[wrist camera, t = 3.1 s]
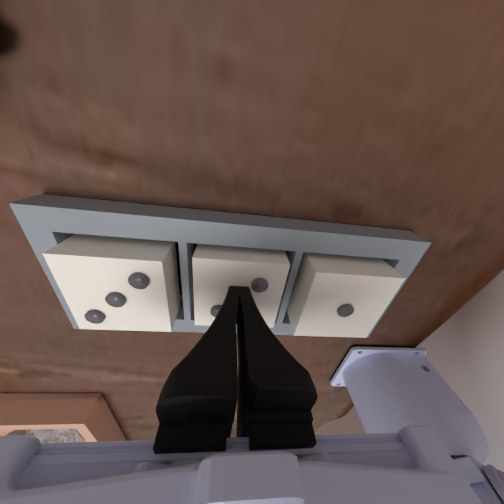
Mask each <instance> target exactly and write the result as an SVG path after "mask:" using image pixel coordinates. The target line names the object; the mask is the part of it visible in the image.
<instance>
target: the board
mask: <svg viewBox="0 0 504 504" xmlns="http://www.w3.org/2000/svg"><path fill="white" fill-rule="evenodd" d="M9 204H10V206H11V208H12V210H13V212H14V214H15V216H16V218H17V220H18V222H19V223H20V225H21V227H22V229H23V231H24V233H25V235H26V237H27V239H28V241H29V243H30V245H31V247H32V249H33V250H34V252H35V254H36V256H37V258H38V260H39V262H40V264H41V266H42V268H43V270H44V272H45V274H46V276H47V277H48V279H49V281H50V283H51V285H52V287H53V289H54V291H55V293H56V295H57V297H58V299H59V301H60V303H61V304H62V306H63V308H64V310H65V312H66V314H67V316H68V318H69V320H70V322H71V324H72V326H73V328H74V329H79V327H78V325H77V323H76V321H75V318H74V316H73V314H72V312H71V310H70V308H69V306H68V304H67V302H66V300H65V298H64V296H63V294H62V292H61V290H60V288H59V286H58V284H57V282H56V280H55V278H54V276H53V274H52V272H51V270H50V268H49V266H48V264H47V262H46V260H45V258H44V256H43V254H42V253H44V252H45V251H47V250H49V249H50V248H52V247H54V246H56V245H57V244H59V243H61V242H63V241H64V240H66V239H68V238H69V237H71V236H73V235H75V234H86V235H98V236H111V237H123V238H136V239H148V240H160V241H173V242H178V246H179V259H180V271H181V284H182V297H183V301H180V302H181V306H180V309H179V312H178V315H177V318H176V320H175V323H174V326H173V329H172V332H202V333H206V331H207V330H208V328H209V327H210V326H202V325H195V318H194V293H193V268H192V257H193V254H194V243H198V244H210V245H222V246H235V247H247V248H260V249H272V250H284V251H286V256H287V258H288V260H289V263H290V268H289V271H288V275H287V279H286V282H285V286H284V290H283V294H282V297H281V301H280V305H279V308H278V312H277V316H276V320H275V323H274V327H273V328H270V330H271V331H272V333H273V334H274V335H293V331H292V328H291V324H290V320H289V317H288V313H287V308H288V302H289V299H290V296H291V292H292V289H293V286H294V282H295V279H296V276H297V272H298V269H299V266H300V262H301V259H302V256H303V252H309V253H322V254H334V255H346V256H359V257H371V258H382V259H383V260H384V261H385V262H387V263H388V264H389V265H390V266H391V267H393V268H394V269H395V270H396V271H397V272H399V273H400V274H401V275H402V276H403V277H405V278H406V279H405V280H404V282H403V283H402V285H401V286H400V288H399V289H398V291H397V292H396V294H395V295H394V297H393V298H392V300H391V301H390V303H389V304H388V306H387V307H386V309H385V310H384V312H383V313H382V315H381V316H380V318H379V319H378V321H377V322H376V324H375V325H374V327H373V328H372V330H371V331H370V333H369V334H368V336H367V337H366V338H368V337H369V335H370V334H371V332H372V331H373V329H374V328H375V326H376V325H377V323H378V322H379V320H380V319H381V317H382V316H383V314H384V313H385V311H386V310H387V308H388V307H389V305H390V304H391V302H392V301H393V299H394V298H395V296H396V295H397V294H398V292H399V291H400V289H401V288H402V286H403V285H404V283H405V282H406V280H407V279H408V277H409V276H410V274H411V273H412V271H413V270H414V268H415V267H416V265H417V264H418V262H419V261H420V259H421V258H422V256H423V255H424V253H425V252H426V250H427V249H428V247H429V246H430V244H431V242H429V241H428V240H426V239H424V238H422V237H420V236H418V235H416V234H415V233H413V232H411V231H409V230H400V229H390V228H380V227H370V226H360V225H350V224H340V223H330V222H320V221H310V220H300V219H290V218H280V217H270V216H260V215H250V214H240V213H230V212H220V211H210V210H200V209H190V208H180V207H170V206H160V205H150V204H139V203H129V202H119V201H109V200H99V199H89V198H79V197H69V196H59V195H49V194H40V195H37V196H33V197H30V198H26V199H22V200H19V201H15V202H11V203H9ZM236 334H237V327H236Z"/></svg>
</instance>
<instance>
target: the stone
mask: <svg viewBox="0 0 504 504" xmlns="http://www.w3.org/2000/svg"><path fill="white" fill-rule="evenodd" d="M14 435H29V436H34V437H36V438H38V439H39V440H40V442H41V443H68V442H84V441H86V440H85V439H84V438H83V436H82V435H81V434H80V433H79V432H78V430H77V429H76V428H72V429H26V430H14V431H12V432H10V433H8V434H7V435H6V436H14Z"/></svg>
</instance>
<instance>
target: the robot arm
mask: <svg viewBox="0 0 504 504" xmlns="http://www.w3.org/2000/svg"><path fill="white" fill-rule="evenodd" d="M236 325H237V340H238V357H239V366H238V376H237V343H236ZM427 353H428V351H427V350H426V349H425V348H394V347H352V348H351V349H350V351H349V352H348V354H347V355H346V357H345V359H344V360H343V362H342V363H341V365H340V367H339V368H338V370H337V371H336V373H335V374H334V376H333V378H332V379H331V381H330V384H331V386H346V387H347V390H348V392H349V394H350V397H351V399H352V401H353V403H354V406H355V408H356V410H357V413H358V415H359V417H360V420H361V422H362V424H363V426H364V429H365V431H366V434H337V435H315V434H314V430H313V426H312V421H313V417H312V413H311V409H312V407H313V405H314V404H315V402H316V400H317V392H316V389H315V386H314V383H313V381H312V379H311V376H310V374H309V372H308V371H307V370H306V369H305V368H304V367H303V366H302V365H301V364H299V363H298V362H297V361H296V360H295V359H294V357H293V356H292V355H291V354H290V353H289V352H288V351H287V350H286V349H285V348H284V346H283V345H282V344H281V343H280V342H279V340H278V339H277V338H276V337H275V335H274V334H273V333H272V331H271V330H270V328H269V327H268V325H267V324H266V322H265V320H264V319H263V317H262V315H261V313H260V312H259V310H258V308H257V306H256V304H255V301H254V299H253V297H252V294H251V291H250V288H249V287H245V286H229V287H228V292H227V295H226V298H225V300H224V302H223V304H222V306H221V308H220V310H219V312H218V314H217V316H216V318H215V319H214V321H213V322H212V324H211V326H210V327H209V328H208V330H207V331H206V333H205V334H204V335H203V337H202V338H201V339H200V341H199V342H198V343H197V344H196V345H195V347H194V348H193V349H192V350H191V351H190V352H189V353H188V355H187V356H186V357H185V358H184V359H183V360H182V361H181V362H180V363H179V364H178V365H177V366H176V367H175V368H174V369H173V370H172V372H171V373H170V375H169V377H168V379H167V381H166V382H165V384H164V387H163V389H162V391H161V394H160V397H159V400H158V403H157V406H156V413H157V417H158V420H159V423H160V425H159V428H158V432H157V435H156V439H155V440H135V441H102V442H68V443H41V442H40V440H39V439H38V438H36V437H34V436H29V435H14V436H0V504H504V472H502V471H500V470H497V469H496V468H495V467H494V466H492V465H486V466H484V465H483V463H484V462H485V461H486V459H487V457H488V453H489V447H488V443H487V439H486V436H485V434H484V431H483V429H482V427H481V426H480V424H479V422H478V420H477V419H476V417H475V416H474V415H473V413H472V412H471V411H470V410H469V409H468V407H467V406H466V405H465V404H464V403H463V401H462V400H461V399H460V398H459V397H458V396H457V394H456V393H455V392H454V391H453V390H452V389H451V388H450V386H449V385H448V384H447V383H446V382H445V380H444V379H443V378H442V377H441V376H440V374H439V373H438V372H437V371H436V370H435V369H434V367H433V366H432V365H431V364H430V363H429V361H428V360H427V359H426V358H425V356H426V355H427ZM237 399H238V406H237V436H236V437H235V438H230V435H231V429H232V424H233V421H234V416H235V410H236V404H237ZM180 465H182V466H180Z"/></svg>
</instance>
